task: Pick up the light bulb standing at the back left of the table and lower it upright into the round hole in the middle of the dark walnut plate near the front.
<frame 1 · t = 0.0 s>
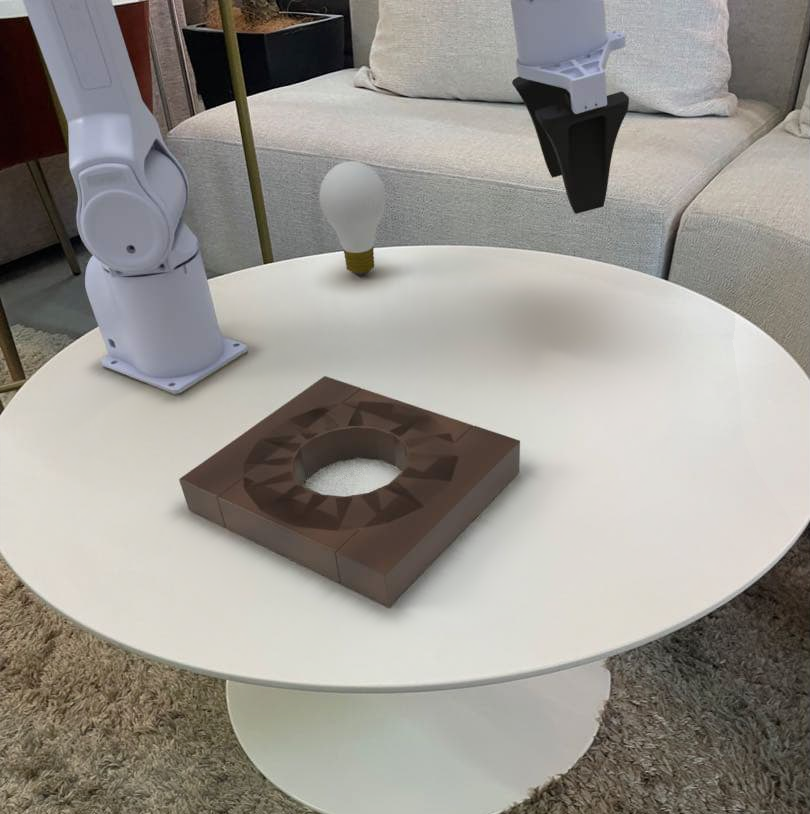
hand: (575, 190, 59), 11 cm above the table, tool pointing down, fingers open, 7 cm apart
light bulb: (361, 276, 76), on the table
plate: (354, 491, 51), on the table
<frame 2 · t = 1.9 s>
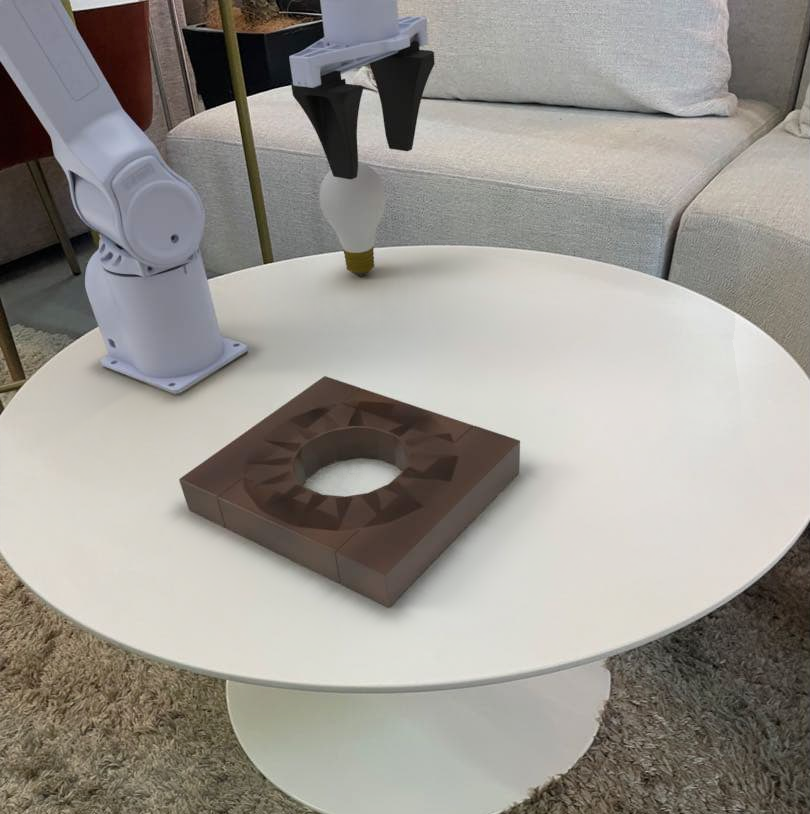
hand: (373, 162, 68), 10 cm above the table, tool pointing down, fingers open, 7 cm apart
nothing on the table moved.
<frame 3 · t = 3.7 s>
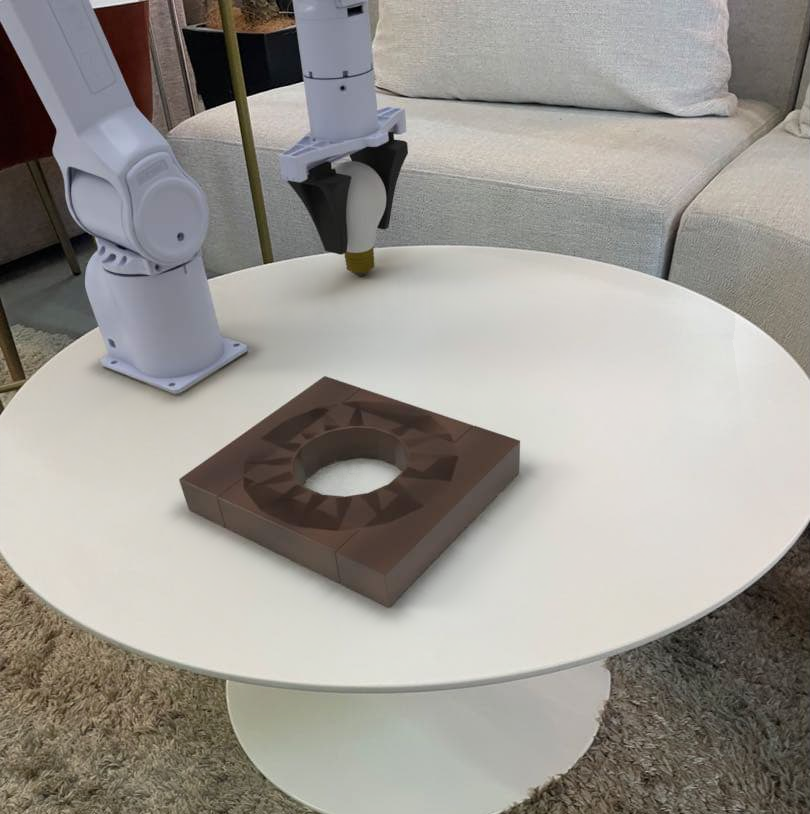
hand: (357, 239, 74), 3 cm above the table, tool pointing down, fingers closed on light bulb, 6 cm apart
light bulb: (361, 276, 76), on the table, touching gripper
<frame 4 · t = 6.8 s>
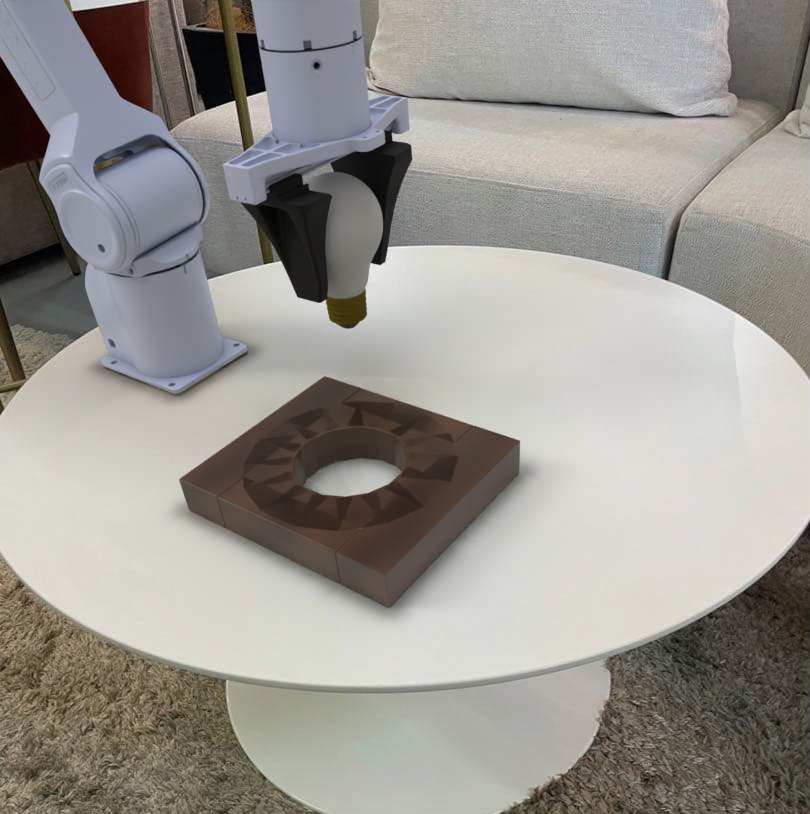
hand: (342, 279, 53), 9 cm above the table, tool pointing down, fingers closed on light bulb, 6 cm apart
light bulb: (349, 329, 55), point 6 cm above the table, touching gripper
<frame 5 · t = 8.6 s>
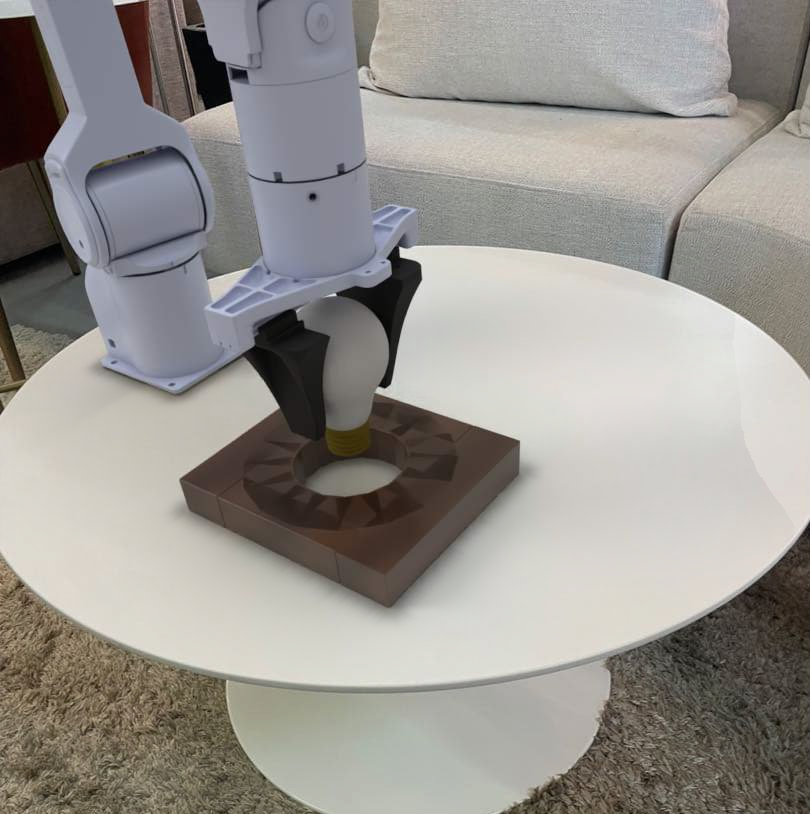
hand: (342, 407, 47), 6 cm above the table, tool pointing down, fingers closed on light bulb, 6 cm apart
light bulb: (351, 457, 50), point 3 cm above the table, touching gripper
when the fingers open (3 cm above the table, at t = 10.1 s): light bulb stays where it is, resting in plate.
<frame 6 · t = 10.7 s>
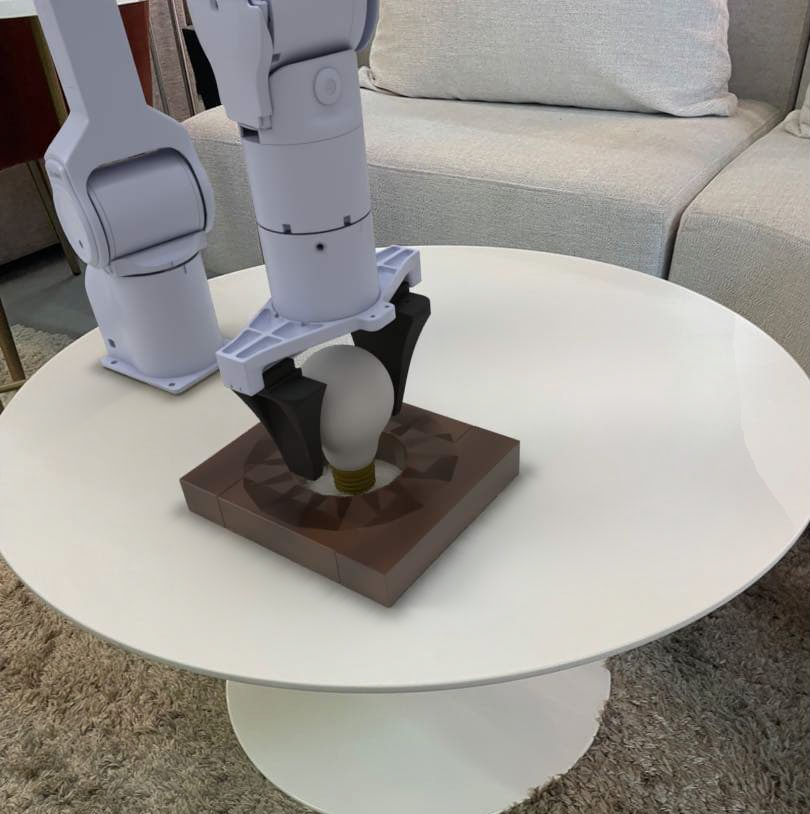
hand: (347, 440, 49), 4 cm above the table, tool pointing down, fingers open, 7 cm apart
light bulb: (356, 494, 52), resting in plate
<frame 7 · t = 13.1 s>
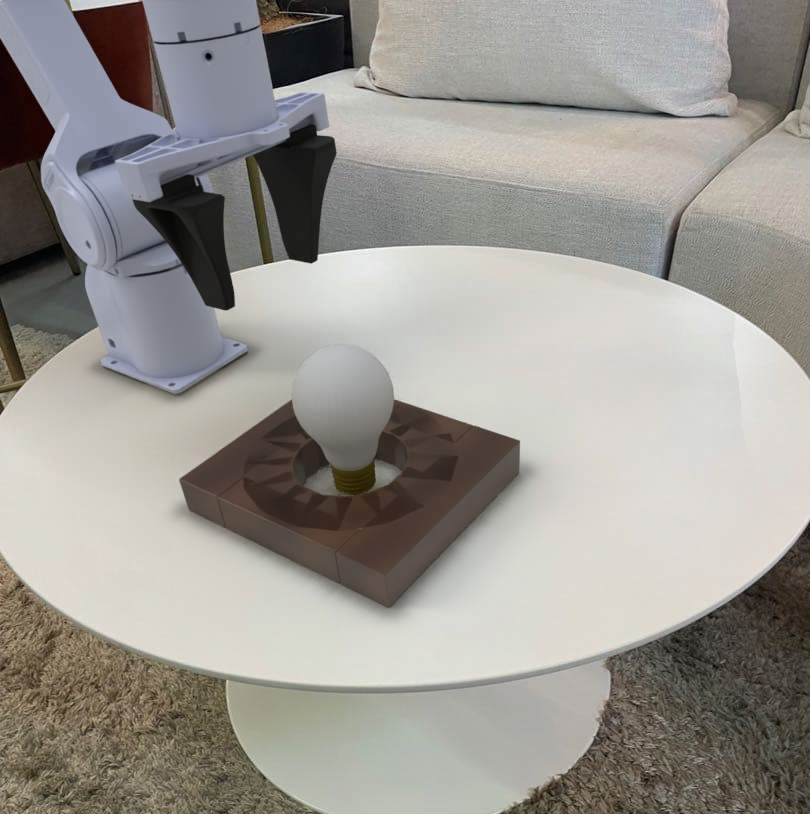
hand: (263, 282, 51), 10 cm above the table, tool pointing down, fingers open, 7 cm apart
nothing on the table moved.
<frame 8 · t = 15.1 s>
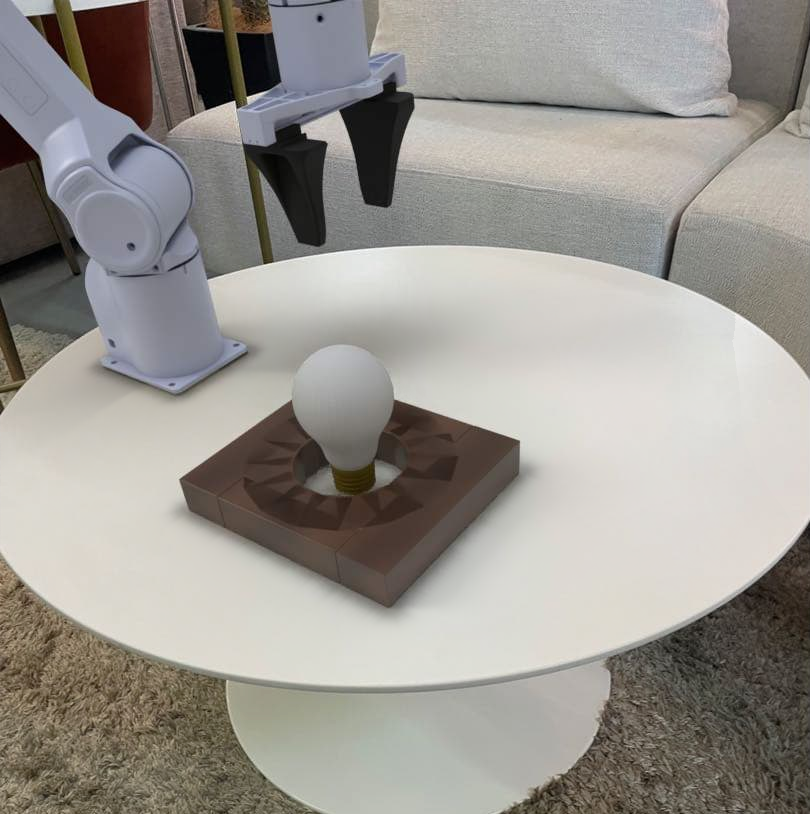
hand: (346, 223, 58), 10 cm above the table, tool pointing down, fingers open, 7 cm apart
nothing on the table moved.
at the end: light bulb 0.1 cm off-centre in the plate, point 0.0 cm above the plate's base; light bulb tilted 0°; the gripper is holding nothing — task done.
